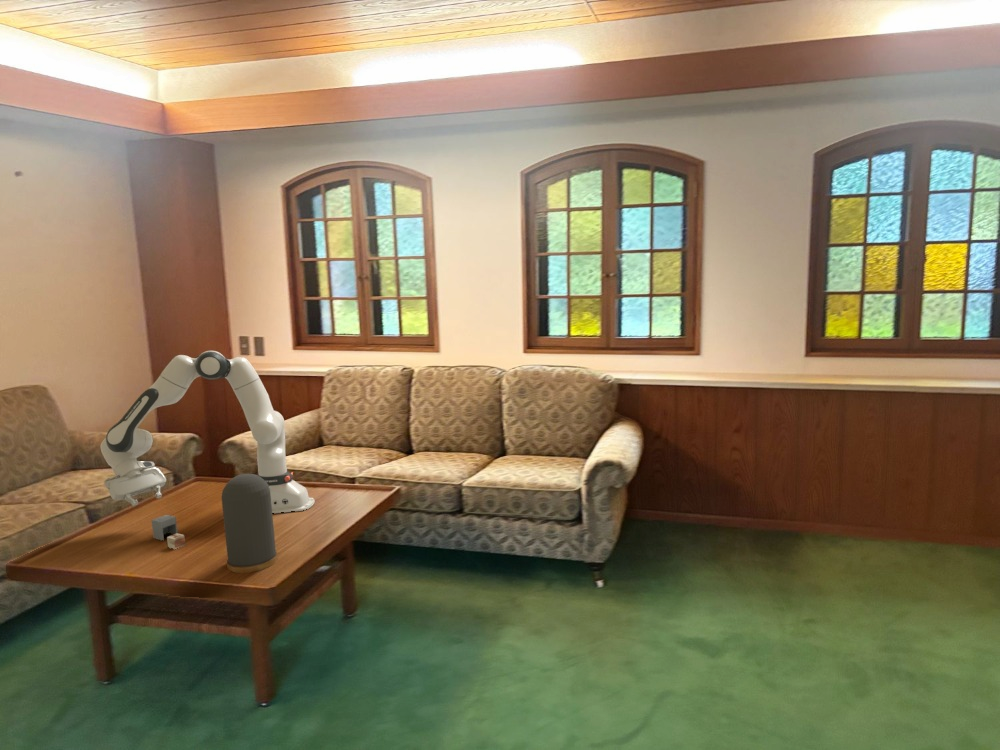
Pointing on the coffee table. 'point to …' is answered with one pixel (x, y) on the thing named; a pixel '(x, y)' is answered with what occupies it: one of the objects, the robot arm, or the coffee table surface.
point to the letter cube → (176, 541)
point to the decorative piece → (248, 524)
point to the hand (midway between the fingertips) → (148, 500)
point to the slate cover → (164, 526)
